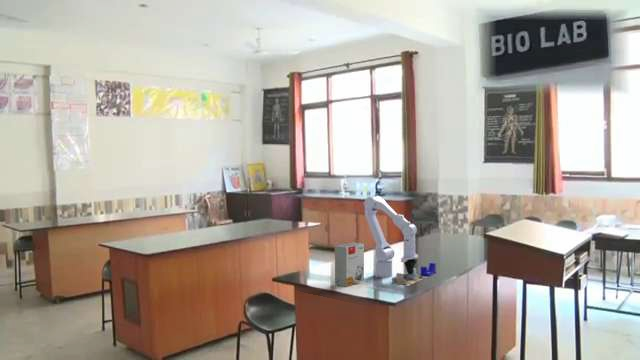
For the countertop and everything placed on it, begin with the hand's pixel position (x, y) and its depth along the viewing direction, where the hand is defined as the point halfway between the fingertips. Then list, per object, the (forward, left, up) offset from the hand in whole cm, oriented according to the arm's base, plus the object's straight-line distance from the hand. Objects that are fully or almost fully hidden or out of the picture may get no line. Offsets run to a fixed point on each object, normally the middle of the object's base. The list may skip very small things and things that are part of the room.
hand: (409, 273), depth 258 cm
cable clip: (+13, +11, -4) cm, 17 cm away
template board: (0, -1, -4) cm, 4 cm away
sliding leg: (+2, +2, -3) cm, 4 cm away
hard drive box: (-31, -1, -4) cm, 32 cm away
